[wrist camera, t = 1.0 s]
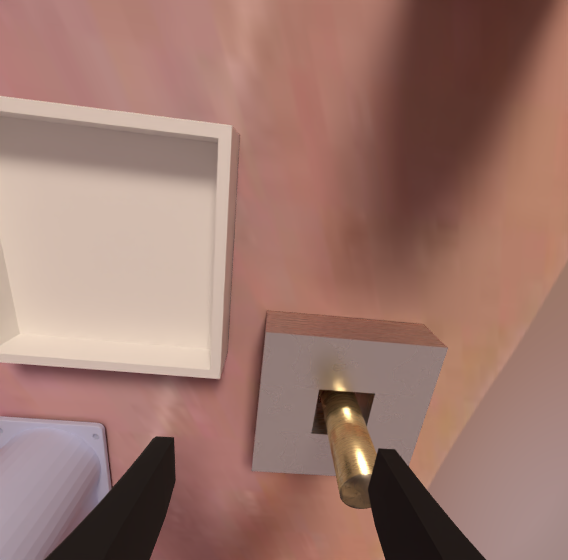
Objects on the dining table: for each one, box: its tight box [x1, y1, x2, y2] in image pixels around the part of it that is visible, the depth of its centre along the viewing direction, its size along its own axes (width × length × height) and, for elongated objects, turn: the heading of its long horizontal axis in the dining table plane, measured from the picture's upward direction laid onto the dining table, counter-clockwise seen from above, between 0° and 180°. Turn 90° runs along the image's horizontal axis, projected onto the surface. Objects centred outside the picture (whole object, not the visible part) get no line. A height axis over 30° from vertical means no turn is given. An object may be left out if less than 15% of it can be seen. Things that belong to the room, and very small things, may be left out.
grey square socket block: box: [252, 310, 448, 476], centre depth 20 cm, size 11×11×3 cm
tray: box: [0, 96, 240, 379], centre depth 17 cm, size 14×14×3 cm
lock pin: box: [319, 389, 377, 509], centre depth 18 cm, size 2×2×8 cm
